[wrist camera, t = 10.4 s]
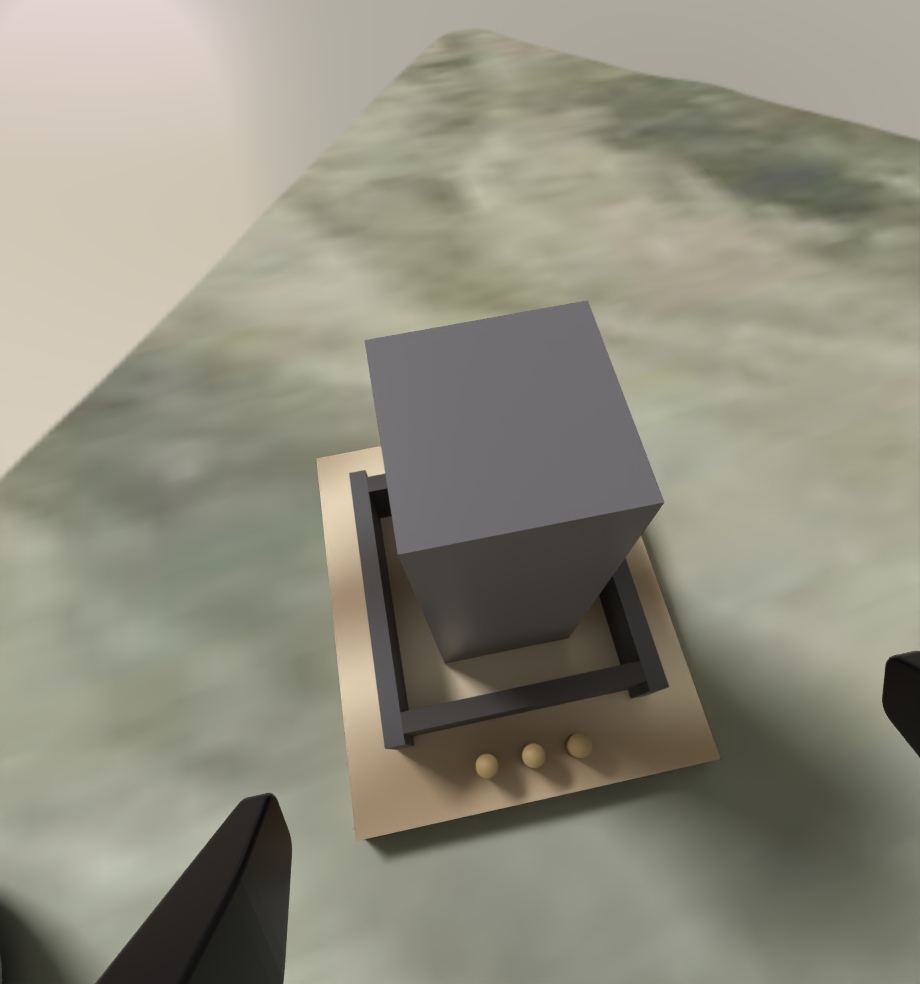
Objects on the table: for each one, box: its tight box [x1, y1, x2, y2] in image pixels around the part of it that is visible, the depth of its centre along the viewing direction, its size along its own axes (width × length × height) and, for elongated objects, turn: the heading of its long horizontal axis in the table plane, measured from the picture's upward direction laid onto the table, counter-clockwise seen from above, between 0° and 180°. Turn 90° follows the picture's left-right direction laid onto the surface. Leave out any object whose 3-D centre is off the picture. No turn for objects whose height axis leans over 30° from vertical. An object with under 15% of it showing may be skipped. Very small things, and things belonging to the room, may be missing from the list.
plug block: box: [365, 301, 664, 664], centre depth 16 cm, size 4×4×12 cm
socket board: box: [317, 446, 721, 841], centre depth 21 cm, size 14×12×4 cm
